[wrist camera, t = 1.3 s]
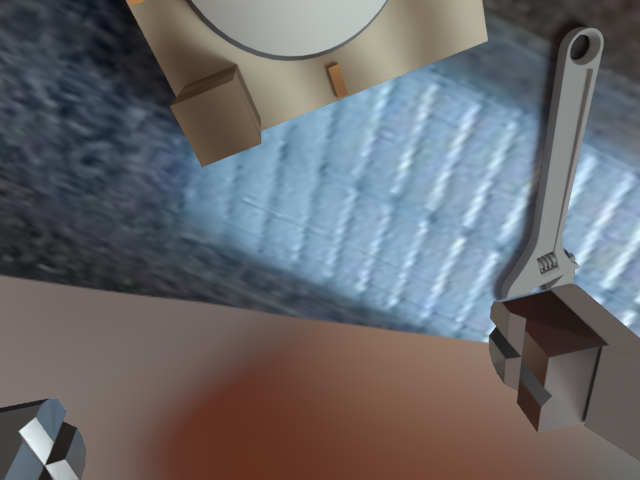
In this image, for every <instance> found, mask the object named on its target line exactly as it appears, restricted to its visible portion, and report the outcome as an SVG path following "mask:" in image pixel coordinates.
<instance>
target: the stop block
mask: <svg viewBox="0 0 640 480" xmlns="http://www.w3.org/2000/svg"><path fill="white" fill-rule="evenodd" d="M170 108H171V110H172V112H173V114H174V115H175V117H176V119H177V121H178V123H179V125H180V127H181V128H182V130H183V132H184V134H185V136H186V138H187V140H188V142H189V143H190V145H191V147H192V149H193V151H194V153H195V155H196V156H197V158H198V160H199V162H200V164H201V166H202V167H203V166H206V165H208V164H211V163H213V162H216V161H219V160H221V159H224V158H226V157H229V156H231V155H234V154H236V153H239V152H241V151H244V150H246V149H249V148H251V147H254V146H256V145H259V144H261V118H260V116H259V113H258V111H257V109H256V106H255V104H254V102H253V99H252V97H251V95H250V92H249V90H248V88H247V86H246V83H245V81H244V79H243V76H242V74H241V72H240V69H239V67H238V65H235V66H232V67H230V68H227V69H225V70H222V71H220V72H218V73H215V74H213V75H210V76H208V77H205V78H203V79H201V80H198V81H196V82H193V83H191V84H188V85H186V86H184V88H183V89H182V90H181V92H180V93H179V94H178V96H177V97H176V99H175V100H174V101H173V103H172V104H171V105H170Z"/></svg>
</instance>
